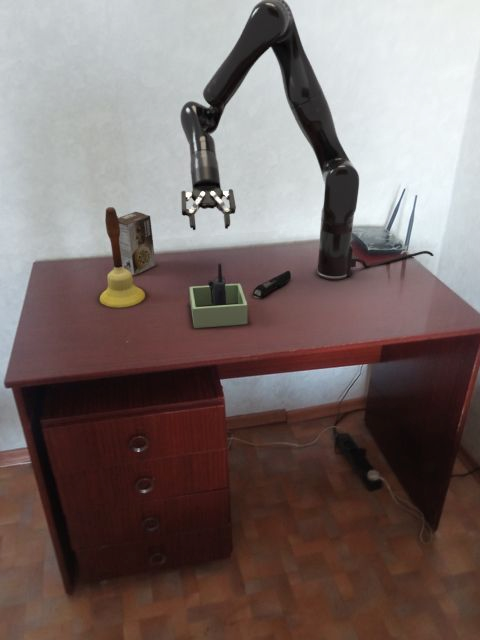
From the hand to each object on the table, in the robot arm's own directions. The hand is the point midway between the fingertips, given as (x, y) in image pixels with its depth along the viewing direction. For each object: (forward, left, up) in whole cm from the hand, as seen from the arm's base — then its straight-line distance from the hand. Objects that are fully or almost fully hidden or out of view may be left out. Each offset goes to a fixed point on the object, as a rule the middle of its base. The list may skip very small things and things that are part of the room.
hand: (210, 228), depth 144 cm
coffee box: (+21, -21, -19) cm, 35 cm away
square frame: (0, +12, -19) cm, 23 cm away
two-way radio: (0, +12, -19) cm, 23 cm away
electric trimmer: (-17, -1, -19) cm, 26 cm away
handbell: (+25, -2, -19) cm, 32 cm away
